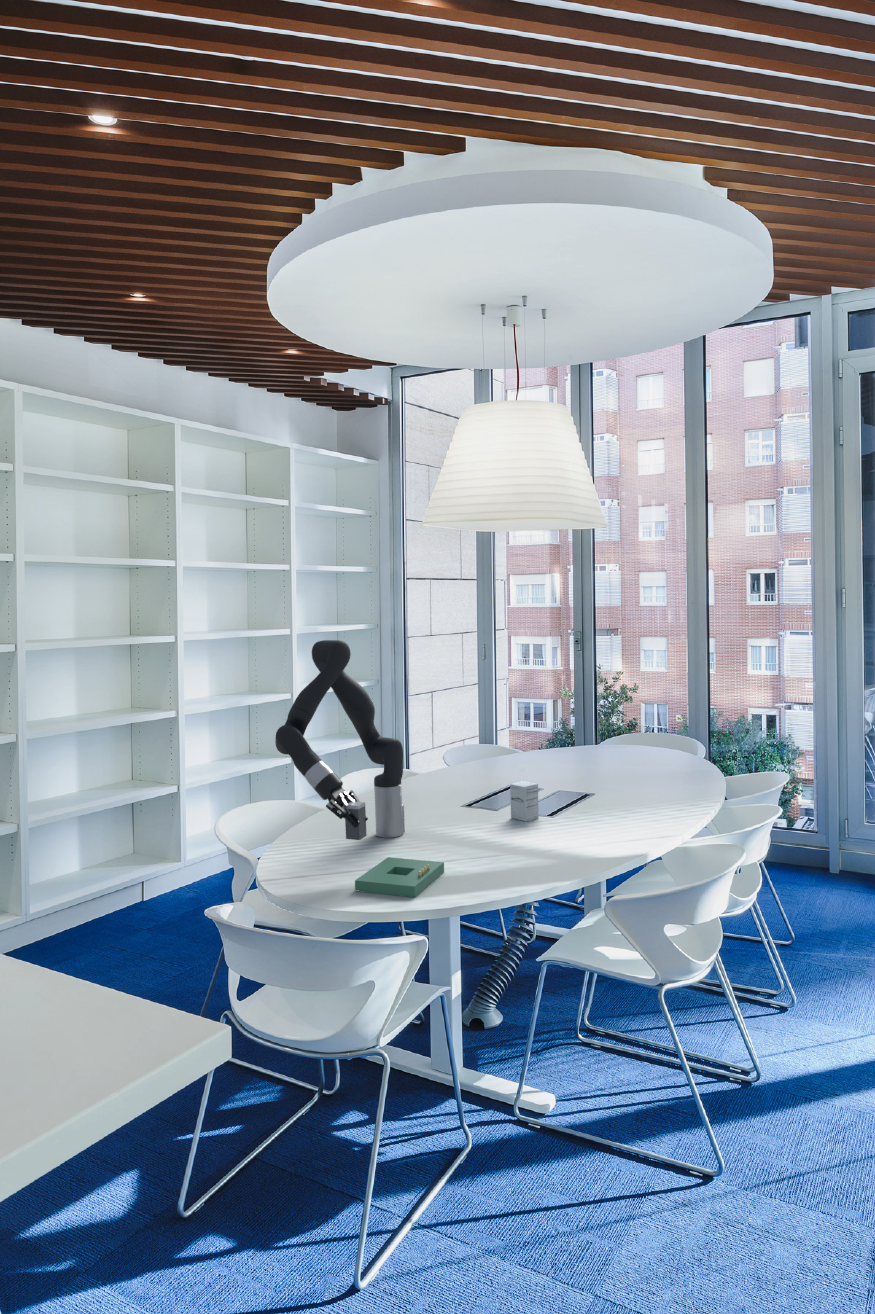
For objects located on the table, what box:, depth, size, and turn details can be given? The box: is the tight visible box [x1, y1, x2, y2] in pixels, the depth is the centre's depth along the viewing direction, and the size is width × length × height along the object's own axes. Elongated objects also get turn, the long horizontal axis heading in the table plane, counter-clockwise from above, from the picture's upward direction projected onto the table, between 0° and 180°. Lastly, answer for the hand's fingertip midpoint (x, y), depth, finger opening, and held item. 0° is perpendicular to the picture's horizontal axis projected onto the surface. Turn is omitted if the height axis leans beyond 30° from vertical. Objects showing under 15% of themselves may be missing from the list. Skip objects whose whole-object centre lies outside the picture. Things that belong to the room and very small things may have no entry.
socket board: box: [354, 857, 445, 898], centre depth 250 cm, size 22×18×4 cm
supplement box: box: [509, 780, 540, 822], centre depth 314 cm, size 7×7×13 cm
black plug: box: [344, 801, 367, 841], centre depth 254 cm, size 4×4×10 cm
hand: (361, 823), depth 254 cm, fingers closed on black plug, 4 cm apart
